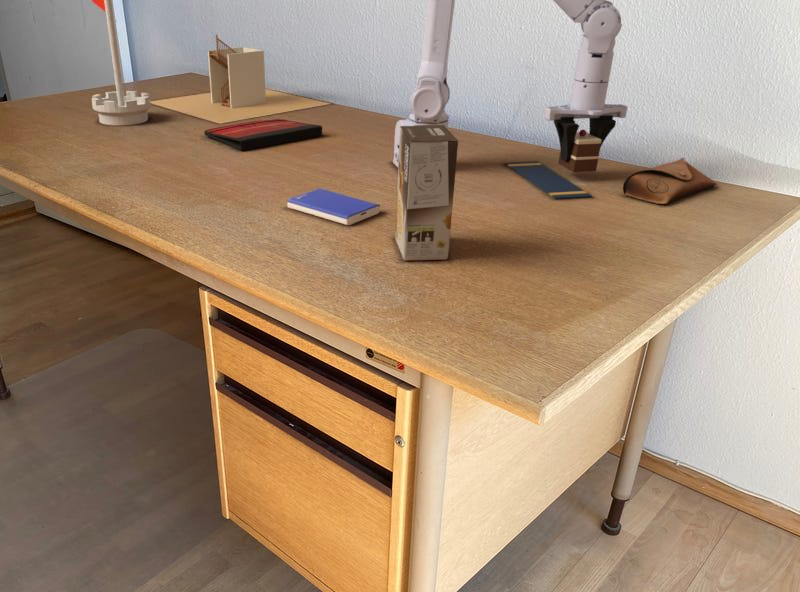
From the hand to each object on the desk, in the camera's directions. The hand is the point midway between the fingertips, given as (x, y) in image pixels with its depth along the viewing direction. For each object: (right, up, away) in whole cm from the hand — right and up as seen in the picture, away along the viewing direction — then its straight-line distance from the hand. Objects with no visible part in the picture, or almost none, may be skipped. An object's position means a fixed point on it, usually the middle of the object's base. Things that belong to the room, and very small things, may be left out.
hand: (577, 159), depth 134 cm
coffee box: (-32, -21, -29) cm, 48 cm away
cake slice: (0, -1, +1) cm, 1 cm away
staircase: (-69, +30, +58) cm, 95 cm away
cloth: (-6, -4, 0) cm, 7 cm away
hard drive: (-44, -13, -16) cm, 48 cm away
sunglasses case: (+14, -7, -5) cm, 17 cm away
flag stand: (-93, +20, +39) cm, 103 cm away
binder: (-60, +12, +27) cm, 66 cm away
